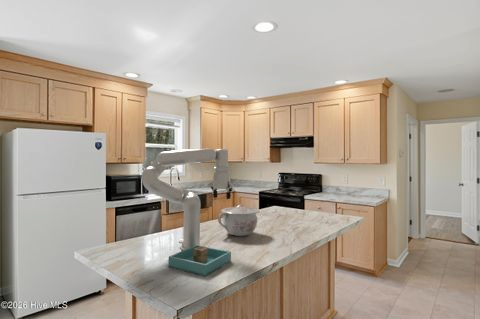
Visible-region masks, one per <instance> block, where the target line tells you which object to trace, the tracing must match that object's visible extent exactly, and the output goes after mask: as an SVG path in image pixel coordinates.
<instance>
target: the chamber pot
mask: <svg viewBox="0 0 480 319" xmlns="http://www.w3.org/2000/svg"><path fill="white" fill-rule="evenodd" d="M220 211H221V212H220V213H219V214H218V217H217V222H218V224H219V225H220V227H222V228H224V230H225V231H226V232H227V233H228V234H229V235H231V236H233V235H235V236H234V237H247V236H249V235H252V234H253V233H254V231H255V230H256V228H257V226H258V222H259V221H258V219H259V218H258V216H257V214H258V213H260V210H259V209H257V208H255V207H250V206H244V205H243V204H238V205H237V206H230V207H226V208H222V209H220ZM246 235H247V236H246Z"/></svg>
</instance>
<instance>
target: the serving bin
mask: <svg viewBox="0 0 480 319" xmlns="http://www.w3.org/2000/svg"><path fill="white" fill-rule="evenodd" d="M197 247H205V248H208V262H206V263H205V264H203V263H198V262H194V261H193V259H194V249H195V248H197ZM167 262H168V265H167V266H168V268H171V269H175V270H179V271H183V272H186V273H190V274H195V275H199V276H202V277H207V276H209V275H210V274H212V273H214V272H216V271H217V270H220V269H221V268H222V267H224V266H226V265H228V264H229V263H231V262H232V251H229V250H224V249H218V248H213V247H208V246H203V245H202V246H198V245H196V246H193V247H191V248H189V249H186V250H184V251H183V250H181V251H179V252H176V253H175V254H172V255H169V256H168V261H167Z"/></svg>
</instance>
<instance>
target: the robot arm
mask: <svg viewBox="0 0 480 319" xmlns="http://www.w3.org/2000/svg"><path fill="white" fill-rule="evenodd" d="M228 152H229V151H228V149H226V148H217V149H213V148H211V147H210V148H209V147H208V148H199V149H180V150H169V151H161V152H159V153H158V154H157V156H156V158H155V160H153V161H152V163H151V164H150V165H148V166H146V167H144V169H143V170H142V171H141V182H142V183H141V184H143V186H144V188H145V190H147V191H148V192H150V193H152V194H153V195H155V196H158V197H160V198H162V199H164V200H167V201H169V202H170V203H173V204H176V203H177V204H180V205H182V206H183V234H182V235H183V237H182V238H183V239H182V238H180V239H179V241H178V243H179V244H181V245H180V250H181V251H184V250H186V249H189V248H191V247H193V246H196V245H198V246H203V245H202V244H201V243H200V242H201V241H200V240H201V205H202V204H201V199H200V196H199V195H198V194H197V193H195V192H192V191H191V190H188V189H186V188H185V187H183V186H182V187H181V186H179V185H171V184H169V183H167V182H165V181H163V180H160V179H159V177H160V176H161V175H162V174H163V173H164V172H165V171H166V169H167V168H168V167H172V166H182V165H183V166H184V165H191V164H198V163H205V162H206V163H208V162H213V161H215V164H214V165H215V166H214V167H213V168H214V170H215V171H214V172H213V177H212V182H211V183H209V185H210V189H211V190H212V194H213V195H212V196H213V199H217V198H218V190H225V191H226V200H229V199H230V200H231V196H232V195H231V194H232V191H233V190H234V188H235V184H234V183H232V182H231V177H230V172H229V153H228Z"/></svg>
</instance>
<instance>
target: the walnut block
mask: <svg viewBox="0 0 480 319" xmlns="http://www.w3.org/2000/svg"><path fill="white" fill-rule="evenodd" d="M205 247H206V246H203V247H197V248H195V249H194V259H193V261H194V262H198V263H203V264H205V263H206V262H208V248H209V247H208V248H205Z"/></svg>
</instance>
